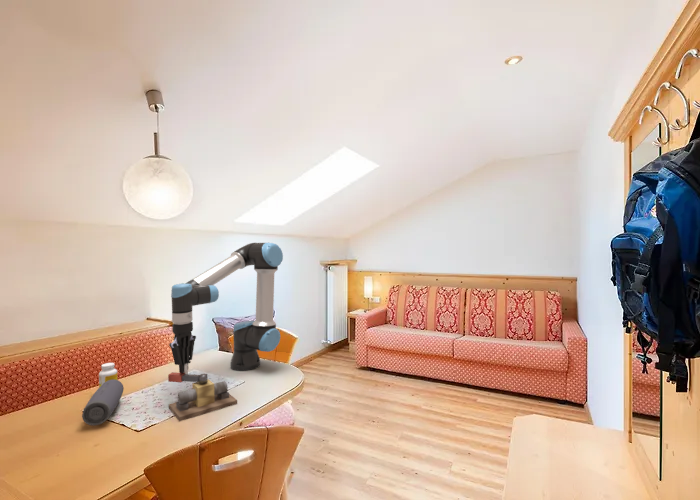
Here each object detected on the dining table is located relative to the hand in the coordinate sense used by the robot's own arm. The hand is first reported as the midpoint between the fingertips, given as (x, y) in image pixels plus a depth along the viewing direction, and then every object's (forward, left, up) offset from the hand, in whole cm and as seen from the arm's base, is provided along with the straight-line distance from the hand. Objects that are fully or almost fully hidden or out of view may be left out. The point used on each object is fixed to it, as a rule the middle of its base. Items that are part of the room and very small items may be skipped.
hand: (184, 379), depth 150 cm
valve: (-5, +8, -9) cm, 13 cm away
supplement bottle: (+22, -30, -10) cm, 38 cm away
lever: (-1, +4, 0) cm, 4 cm away
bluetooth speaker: (+26, -9, -10) cm, 29 cm away
